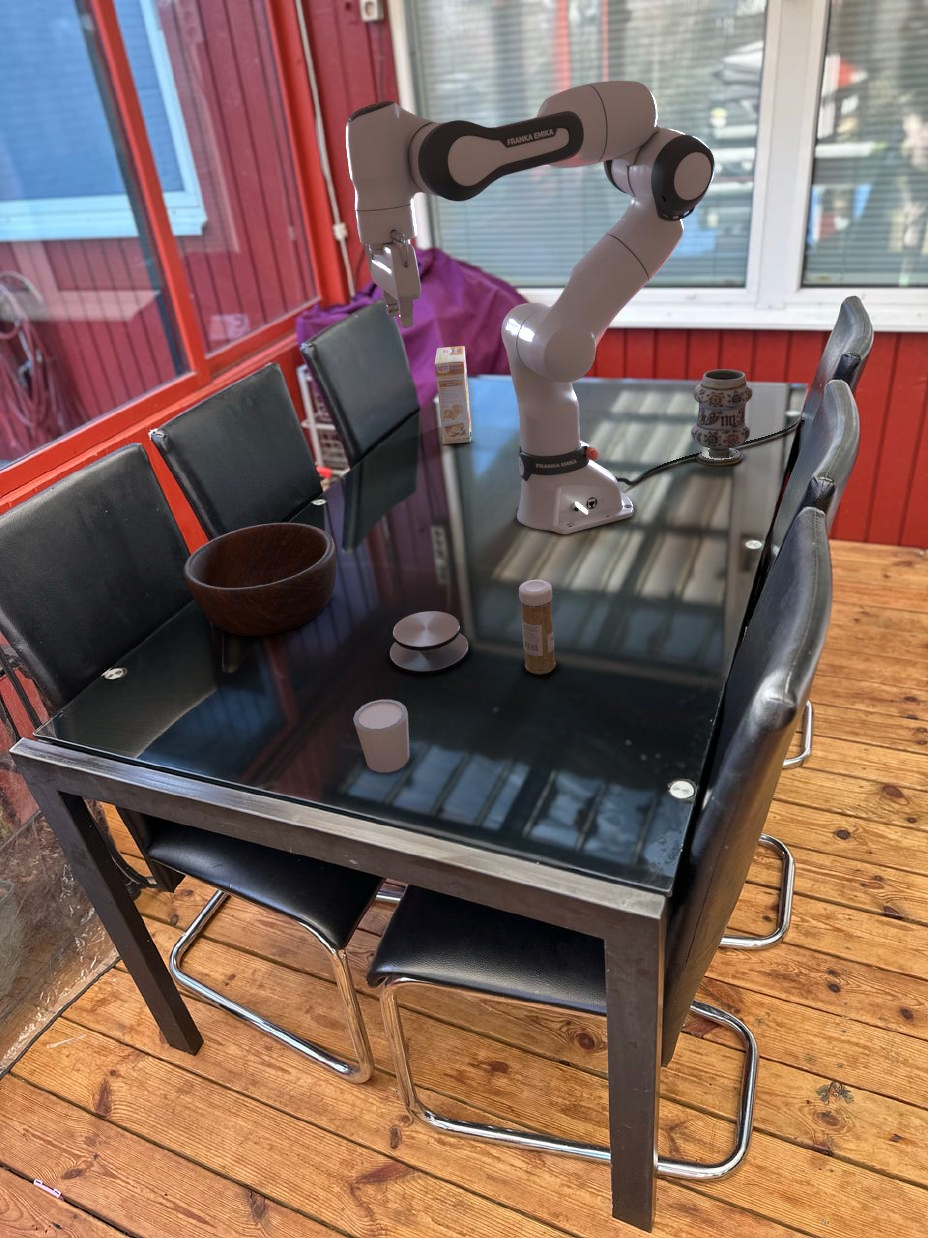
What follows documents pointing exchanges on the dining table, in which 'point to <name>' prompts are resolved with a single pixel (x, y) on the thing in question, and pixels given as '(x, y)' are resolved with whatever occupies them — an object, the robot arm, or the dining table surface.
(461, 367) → the coffeecake box
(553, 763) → the dining table surface
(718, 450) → the apothecary jar
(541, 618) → the sprinkles bottle
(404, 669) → the stand
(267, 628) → the wooden bowl
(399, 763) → the pale pink cup
